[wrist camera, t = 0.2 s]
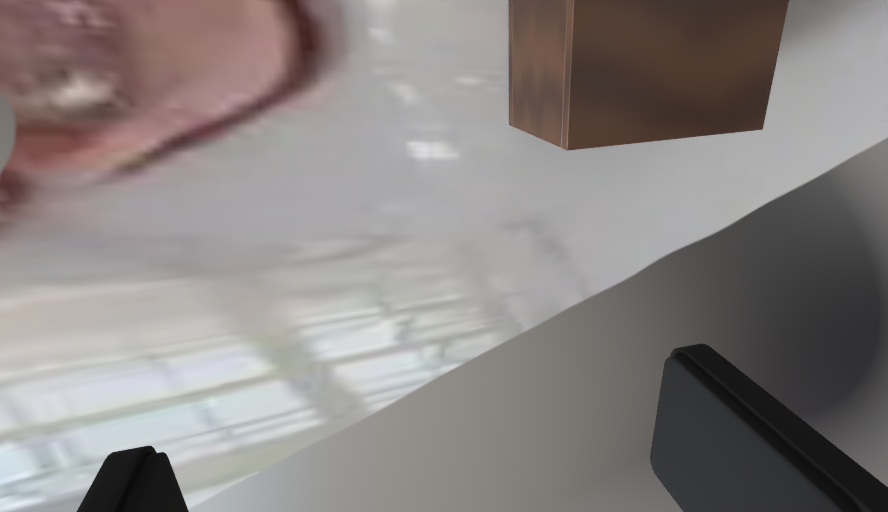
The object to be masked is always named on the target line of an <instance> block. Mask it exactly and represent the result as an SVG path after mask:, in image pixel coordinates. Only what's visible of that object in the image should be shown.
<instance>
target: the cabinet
mask: <svg viewBox="0 0 888 512" xmlns="http://www.w3.org/2000/svg"><path fill="white" fill-rule="evenodd" d="M788 2H789V0H509V125H511V126H513V127H516V128H518V129H520V130H522V131H525V132H527V133H529V134H531V135H534V136H536V137H538V138H540V139H543V140H545V141H547V142H550V143H552V144H554V145H556V146H559V147H561V148H563V149H565V150H576V149H585V148H595V147H604V146H613V145H623V144H632V143H641V142H651V141H660V140H669V139H678V138H688V137H697V136H706V135H716V134H725V133H734V132H744V131H753V130H762V129H763V125H764V120H765V115H766V110H767V105H768V100H769V95H770V90H771V85H772V80H773V76H774V71H775V66H776V61H777V56H778V51H779V46H780V41H781V36H782V31H783V26H784V21H785V16H786V11H787V6H788Z"/></svg>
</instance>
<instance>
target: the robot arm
mask: <svg viewBox="0 0 888 512" xmlns="http://www.w3.org/2000/svg"><path fill="white" fill-rule="evenodd" d="M650 460H651V465H652V468H653V470H654V473H655V474H656V476H657V477H658V479H659V480H660V481H661V482H662V484H663V485H664V487H665V488H666V489H667V491H668V492H669V493H670V494H671V496H672V497H673V498H674V500H675V501H676V502H677V504H678V505H679V506H680V508H681V509H682V510H683V512H888V487H887V486H885V485H884V484H883V483H881V482H880V481H879V480H878V479H876V478H875V477H874V476H873V475H871V474H870V473H869V472H867V471H866V470H865V469H864V468H862V467H861V466H860V465H858V464H857V463H856V462H855V461H854V460H852V459H851V458H850V457H848V456H847V455H846V454H845V453H844V452H842V451H841V450H840V449H838V448H837V447H836V446H835V445H833V444H832V443H831V442H830V441H828V440H827V439H826V438H825V437H823V436H822V435H821V434H819V433H818V432H817V431H815V430H814V429H813V428H812V427H811V426H809V425H808V424H807V423H806V422H804V421H803V420H802V419H801V418H799V417H798V416H797V415H795V414H794V413H793V412H792V411H790V410H789V409H788V408H787V407H785V406H784V405H783V404H782V403H780V402H779V401H778V400H777V399H775V398H774V397H773V396H771V395H770V394H769V393H768V392H766V391H765V390H764V389H763V388H761V387H760V386H759V385H757V384H756V383H755V382H754V381H753V380H751V379H750V378H749V377H747V376H746V375H745V374H744V373H742V372H741V371H740V370H738V369H737V368H736V367H735V366H734V365H732V364H731V363H730V362H728V361H727V360H726V359H725V358H723V357H722V356H721V355H720V354H718V353H717V352H716V351H715V350H713V349H712V348H711V347H709V346H708V345H706V344H697V345H691V346H686V347H680V348H676V349H674V350H673V351H672V353H671V355H670V357H669V358H667V359H666V360H665V364H664V370H663V376H662V384H661V389H660V396H659V402H658V410H657V416H656V422H655V429H654V436H653V442H652V448H651V455H650ZM77 512H189V511H188V509H187V506H186V503H185V501H184V498H183V496H182V493H181V490H180V488H179V485H178V482H177V480H176V477H175V474H174V472H173V469H172V466H171V464H170V461H169V459H168V457H167V455H166V454H165V453H164V452H161V453H156V451H155V449H154V448H153V447H152V446H144V447H139V448H134V449H128V450H123V451H117V452H113V453H111V454H109V455H108V457H107V458H106V459H105V461H104V463H103V465H102V466H101V468H100V470H99V472H98V474H97V476H96V477H95V479H94V481H93V483H92V485H91V487H90V488H89V490H88V492H87V494H86V496H85V498H84V499H83V501H82V503H81V505H80V507H79V509H78V510H77Z"/></svg>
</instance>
